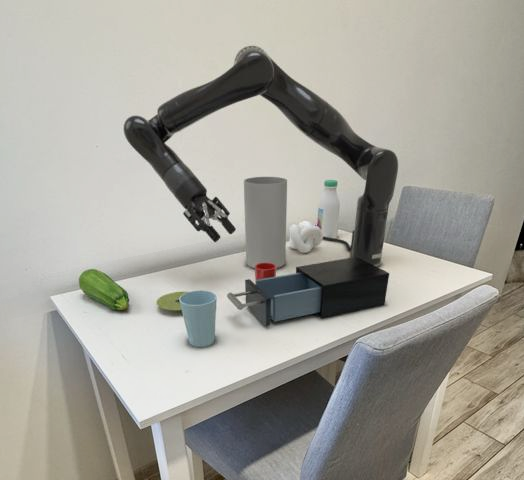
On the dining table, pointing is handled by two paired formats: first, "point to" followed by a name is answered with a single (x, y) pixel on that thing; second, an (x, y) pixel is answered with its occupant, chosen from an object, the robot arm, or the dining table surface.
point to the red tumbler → (264, 271)
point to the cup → (199, 316)
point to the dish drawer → (280, 297)
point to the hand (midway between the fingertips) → (225, 235)
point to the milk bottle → (329, 210)
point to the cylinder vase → (265, 220)
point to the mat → (170, 301)
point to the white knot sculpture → (305, 236)
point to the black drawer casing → (347, 285)
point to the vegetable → (103, 289)
